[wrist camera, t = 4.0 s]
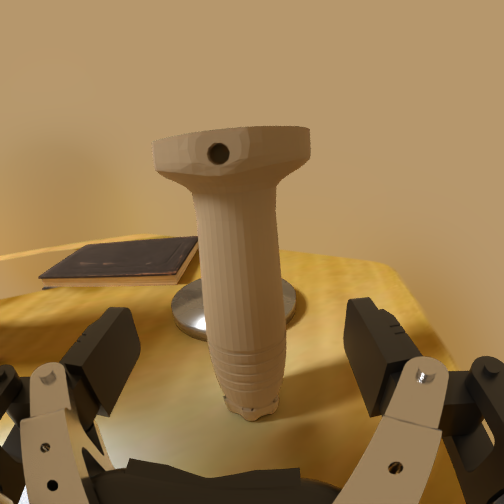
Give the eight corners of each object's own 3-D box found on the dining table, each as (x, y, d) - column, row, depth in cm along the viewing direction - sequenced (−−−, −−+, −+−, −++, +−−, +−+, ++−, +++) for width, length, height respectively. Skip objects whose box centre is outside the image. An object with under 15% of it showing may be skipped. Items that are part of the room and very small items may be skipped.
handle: (211, 376, 19) (177, 144, 14) (304, 378, 18) (305, 134, 13) (193, 428, 14) (131, 143, 9) (306, 434, 13) (315, 123, 8)
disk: (150, 314, 27) (147, 304, 26) (228, 273, 36) (227, 264, 35) (244, 362, 20) (243, 349, 19) (316, 295, 29) (317, 284, 28)
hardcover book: (178, 290, 33) (175, 272, 33) (42, 290, 34) (38, 276, 33) (202, 247, 48) (200, 234, 48) (90, 254, 49) (87, 243, 49)
